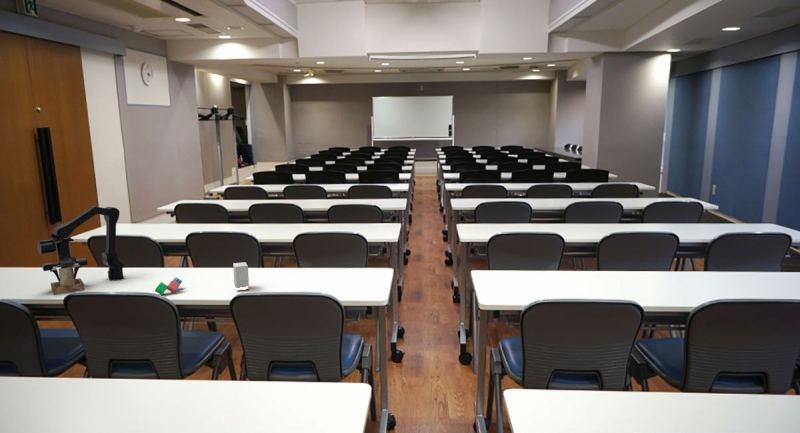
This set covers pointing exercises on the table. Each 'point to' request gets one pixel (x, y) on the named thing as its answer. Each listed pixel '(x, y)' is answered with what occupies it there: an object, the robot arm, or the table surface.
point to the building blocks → (171, 287)
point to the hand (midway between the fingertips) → (67, 280)
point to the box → (66, 276)
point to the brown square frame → (67, 287)
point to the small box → (240, 275)
